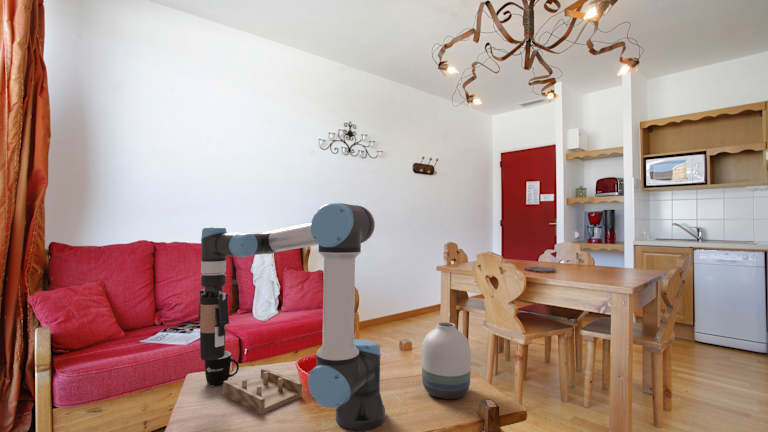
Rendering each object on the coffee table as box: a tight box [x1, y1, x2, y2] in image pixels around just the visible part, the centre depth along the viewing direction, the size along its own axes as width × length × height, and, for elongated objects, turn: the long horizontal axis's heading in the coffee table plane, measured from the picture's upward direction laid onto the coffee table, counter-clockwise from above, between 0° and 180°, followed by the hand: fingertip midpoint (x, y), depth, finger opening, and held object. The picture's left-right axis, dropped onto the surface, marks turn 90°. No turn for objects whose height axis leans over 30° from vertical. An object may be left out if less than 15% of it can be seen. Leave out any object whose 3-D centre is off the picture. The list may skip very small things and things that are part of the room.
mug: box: [204, 350, 240, 387], centre depth 140 cm, size 12×9×10 cm
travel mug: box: [199, 295, 227, 361], centre depth 124 cm, size 8×8×20 cm
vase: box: [421, 321, 471, 400], centre depth 134 cm, size 17×17×24 cm
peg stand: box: [222, 367, 303, 416], centre depth 129 cm, size 22×16×6 cm
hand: (212, 343), depth 124 cm, fingers closed on travel mug, 8 cm apart
